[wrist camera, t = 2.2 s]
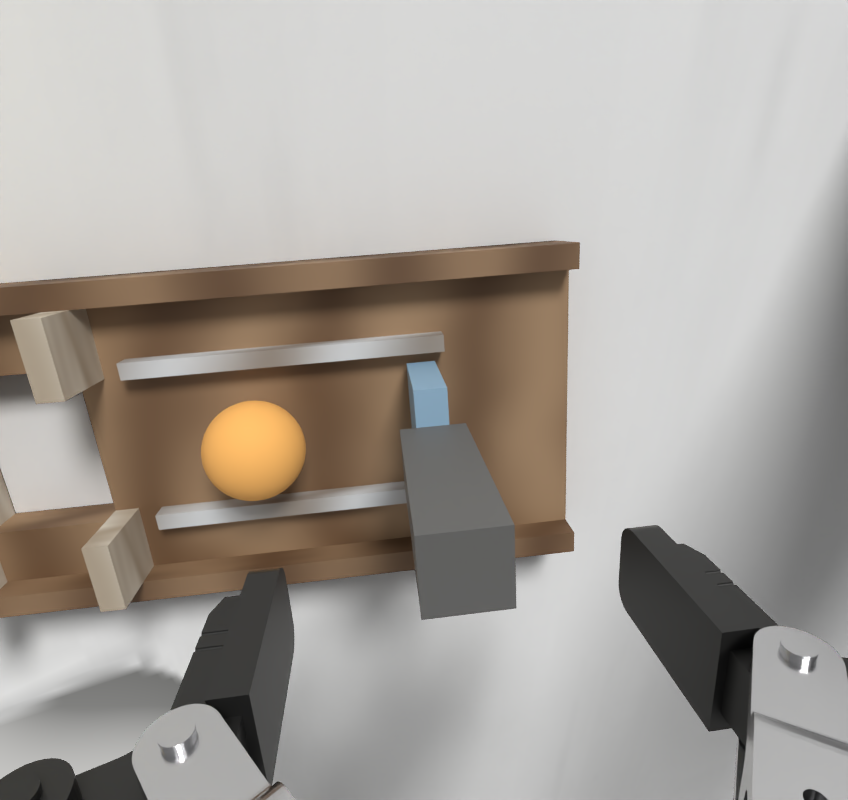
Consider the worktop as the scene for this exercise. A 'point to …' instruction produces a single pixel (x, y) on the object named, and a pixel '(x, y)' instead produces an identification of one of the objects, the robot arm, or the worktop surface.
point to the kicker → (453, 509)
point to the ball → (253, 450)
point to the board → (296, 393)
